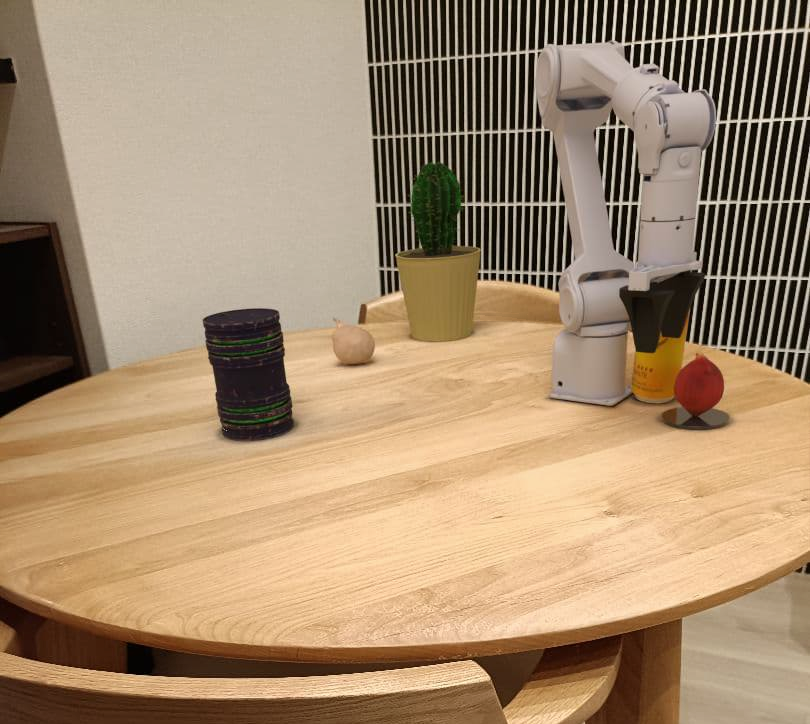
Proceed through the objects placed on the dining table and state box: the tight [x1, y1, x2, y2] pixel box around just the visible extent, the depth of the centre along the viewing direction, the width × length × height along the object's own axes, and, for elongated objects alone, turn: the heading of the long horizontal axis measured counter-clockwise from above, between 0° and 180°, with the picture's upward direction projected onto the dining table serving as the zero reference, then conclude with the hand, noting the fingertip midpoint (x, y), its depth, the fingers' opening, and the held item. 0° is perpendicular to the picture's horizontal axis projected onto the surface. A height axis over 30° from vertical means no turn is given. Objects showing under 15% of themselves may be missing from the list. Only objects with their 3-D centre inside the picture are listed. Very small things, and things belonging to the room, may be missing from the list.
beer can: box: [630, 309, 691, 404], centre depth 106 cm, size 6×6×15 cm
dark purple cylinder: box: [202, 307, 295, 442], centre depth 107 cm, size 10×10×15 cm
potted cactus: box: [395, 159, 482, 342], centre depth 147 cm, size 15×15×30 cm
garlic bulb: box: [331, 316, 376, 365], centre depth 136 cm, size 7×6×8 cm
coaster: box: [661, 406, 731, 431], centre depth 102 cm, size 8×8×1 cm
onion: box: [674, 351, 725, 417], centre depth 100 cm, size 6×6×8 cm
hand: (658, 344), depth 95 cm, fingers open, 7 cm apart
